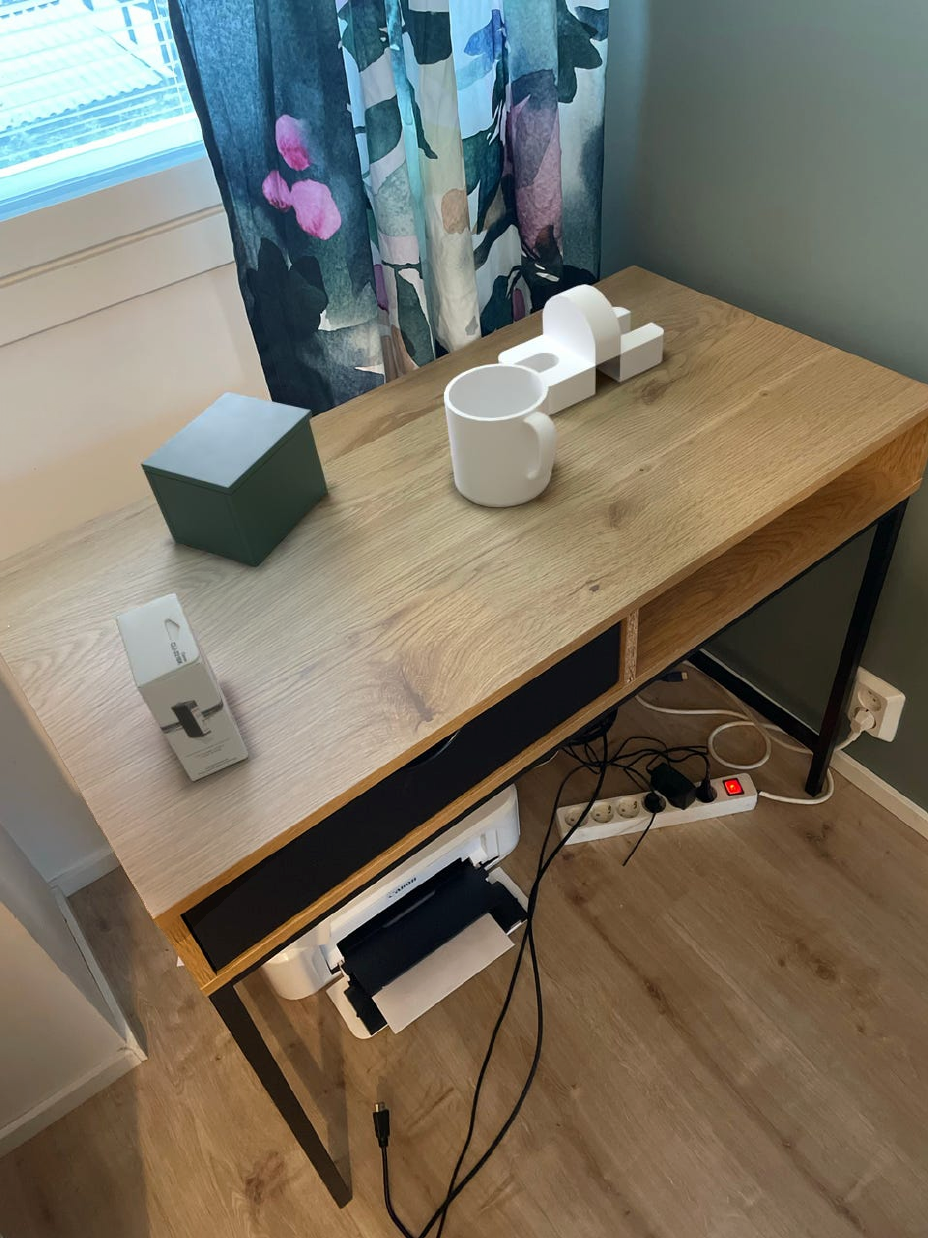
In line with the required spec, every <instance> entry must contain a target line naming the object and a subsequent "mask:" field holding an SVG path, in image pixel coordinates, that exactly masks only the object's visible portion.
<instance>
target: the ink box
mask: <svg viewBox="0 0 928 1238" xmlns="http://www.w3.org/2000/svg"><path fill="white" fill-rule="evenodd" d="M181 603H182V602H180V599H179V597H178V594H176V593H174V592H172V593H169V594H165V595H164V596H160V597H158V598H157V599H154V600H152V601H150V602H147V603H145V604H143V605H140V606H138V607H135V608H133V609H130V610H127V611H125V612H123V613H120V614H118V615H116V616H115V617H114V619H115V622H116V625H117V629H118V631H119V632H118V633H119V635H120V638H121V642H122V645H123V648H124V651H125V654H126V658H127V661H128V665H129V668H130V671H131V675H132V677H133V680H134V683H135V687H136V689H137V691H138V693H139V694H140V696H141V697H142V699H143V701H144V703H145V705H146V706H147V708H148V710H149V711H150V713H151V714H152V717H153V718H154V720H155V721H156V723H157V726H159V728H160V730H161V732H162V733H163V735H164V736H165V738H166V740H167V741H168V743H169V745H170V746H171V749H172V750H173V751H174V753H175V755H176V756H177V759H178V760H179V762H180V764H181V765H182V767H183V768H184V771H185V772H186V774H187V775H188V777H189V778H190V780H191V781H192V782H195V781H197V780H200V779H201V778H204V777H207V776H209V775H211V774H213V773H216V772H219V771H220V770H223V769H224V768H226V767H229V766H232V765H233V764H236V763H238V762H241V761H243V760H246V759H247V758H248V757H249V753H248V749H247V747H246V745H245V743H244V740H243V737H242V735H241V733H240V730H239V727H238V724H237V722H236V720H235V717H234V714H233V713H232V710H231V707H230V705H229V703H228V699H227V698H226V695H225V693H224V690H223V688H222V686H221V684H220V682H219V680H218V678H217V676H216V675H217V674H215V670H213V667H212V665H211V663H210V661H209V659H208V656H207V655H206V653H205V651H204V649H203V647H202V646H203V645H201V642H200V640H199V638H198V636H197V634H196V632H195V630H194V628H193V625H192V623H191V622H190V619H189V618H188V616H187V614H186V612H185V610H184V607H183V606H182V604H181Z"/></svg>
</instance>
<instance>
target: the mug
mask: <svg viewBox="0 0 928 1238" xmlns="http://www.w3.org/2000/svg"><path fill="white" fill-rule="evenodd" d="M443 402H444V409H445V416H446V424H447V432H448V441H449V447H450V454H451V462H452V469H453V478H454V485H455V488H457V491H458V492H459V493H460V494H461V495H462V496H463V497H464V498H465V499H466V500H468V501H470V502H472V503H474V504H476V505H480V506H484V507H490V508H508V507H514V506H518V505H522V504H525V503H527V502H530V501H531V500H533V499H535V498H537V497H538V496H539V495H540V494H542V493H543V492H544V490H546V488H547V487H548V486H549V484H550V482H551V478H552V469H553V468H554V467H553V466H554V464H555V460H556V457H557V449H558V437H557V436H558V435H557V431H556V427H555V424H554V422H553V420H552V419H551V418H550V415H549V392H548V385H547V381H546V380H545V378H544V377H543V376H542V375H541V374H540V373H538V372H537V371H535V370H533V369H531V368H528V367H525V366H521V365H515V364H499V363H490V364H484V365H480V366H476V367H473V368H470V369H468V370H466V371H464V372H462V373H460V374H458V375H456V377H454V378H453V379H452V380H451V381H449V383H448V384H447V385H446V387H445V390H444V392H443Z"/></svg>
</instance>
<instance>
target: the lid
mask: <svg viewBox="0 0 928 1238" xmlns="http://www.w3.org/2000/svg"><path fill="white" fill-rule="evenodd" d="M312 418H313V412H312V409H308V408H303V407H298V406H293V405H289V404H285V403H281V402H275V401H271V400H267V399H262V398H258V397H253V396H248V395H244V394H240V393H236V392H231V391H226V392H225V393H224V394H223V395H221V396H220V397H219V398H218V399H216V400H215V401H214V402H213V403H212V404H210V405H208V407H207V408H206V409H204V410H203V411H202V412H201V413H200V414H198V415H197V416H196V417H195V418H194V419H193V420H191V421H190V422H189V423H188V424H186V425H185V426H184V427H183V428H182V429H180V430H179V431H178V432H176V434H175V435H173V436H172V437H171V438H170V439H169V440H167V441H166V442H165V443H164V444H163V445H162V446H160V447H159V448H157V450H155V451H154V452H153V453H151V455H149V456H148V457H147V458H146V459H145V460H143V461H142V462H141V463H140V466H141V468H142V471H143V472H144V471H147V472H151V473H155V474H158V475H162V476H165V477H169V478H173V479H176V480H180V481H183V482H187V483H190V484H194V485H198V486H201V487H205V488H208V489H212V490H216V491H219V492H223V493H226V494H232V493H233V492H234V491H235V490H236V489H237V488H238V487H239V486H240V485H241V484H242V483H243V482H244V481H246V480H247V479H248V478H249V477H250V476H251V475H252V474H253V473H254V472H255V471H256V470H257V469H258V468H259V467H260V466H261V465H262V464H263V463H264V462H266V461H267V460H268V459H269V458H270V457H271V456H272V455H273V454H274V453H275V452H276V451H277V450H278V449H279V448H280V447H281V446H282V445H283V444H285V443H286V442H287V441H288V440H289V439H290V438H291V437H292V436H293V435H294V434H295V433H296V432H297V431H298V430H299V429H300V428H301V427H302V426H304V425H305V424H306V423H307V422H308V421H311V419H312Z"/></svg>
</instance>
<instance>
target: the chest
mask: <svg viewBox="0 0 928 1238" xmlns="http://www.w3.org/2000/svg"><path fill="white" fill-rule="evenodd" d="M143 473H144V476H145V477H146V480H147V482H148V485H149V486H150V489H151V491H152V494H153V496H154V497H155V498H154V499H155V501H156V502H157V505H158V507H159V509H160V512H161V514H162V516H163V518H164V521H165V523H166V525H167V528H168V530H169V532H170V534H171V537H172V539H173V541H174V542H176V543H179V544H182V545H185V546H189V547H192V548H194V549H198V550H201V551H205V552H208V553H211V554H213V555H218V556H220V557H223V558H227V559H230V560H232V561H235V562H240V563H241V564H242V563H243V564H246V565H250V566H252V567H256V568H257V567H259V565H260V564H261V563H262V562H263V561H264V560H265V559H266V558H267V557H268V556H269V555H270V553H272V552H273V550H274V549H275V548H276V547H277V546H278V545H279V544H280V543H281V542H282V541H283V540H284V539H285V538H286V536H288V534H289V533H291V531H293V529H294V528H295V527H296V526H297V525H298V524H299V523H300V522H301V520H302V519H304V517H305V516H306V515H307V514H308V513H309V512H310V511H311V510H312V509H313V508H314V507H315V506H316V505H317V503H318V502H319V501H321V499H323V497H324V496H325V495H327V493H328V486H327V482H326V479H325V474H324V471H323V467H322V463H321V459H320V455H319V452H318V448H317V444H316V441H315V437H314V432H313V428H312V425H311V420H309V421H308V422H307V423H306V424H305V425H304V426H302V427H301V428H300V429H299V430H298V431H297V432H296V433H295V434H294V435H293V436H292V437H291V438H290V439H289V440H288V441H287V442H286V443H285V444H283V445H282V446H281V447H280V448H279V449H278V450H277V451H276V452H275V453H274V454H273V455H272V456H271V457H270V458H269V459H268V460H267V461H266V462H264V463H263V464H262V465H261V466H260V467H259V468H258V469H257V470H256V471H255V472H254V473H253V474H252V475H251V476H250V477H249V478H248V479H247V480H246V481H244V482H243V483H242V484H241V485H240V486H239V487H238V488H237V489H236V490H235V491H234V492H233V493H232V494H226V493H223V492H219V491H216V490H212V489H208V488H205V487H201V486H198V485H194V484H190V483H187V482H183V481H180V480H176V479H173V478H169V477H165V476H162V475H158V474H155V473H151V472H147V471H144V470H143Z"/></svg>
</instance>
